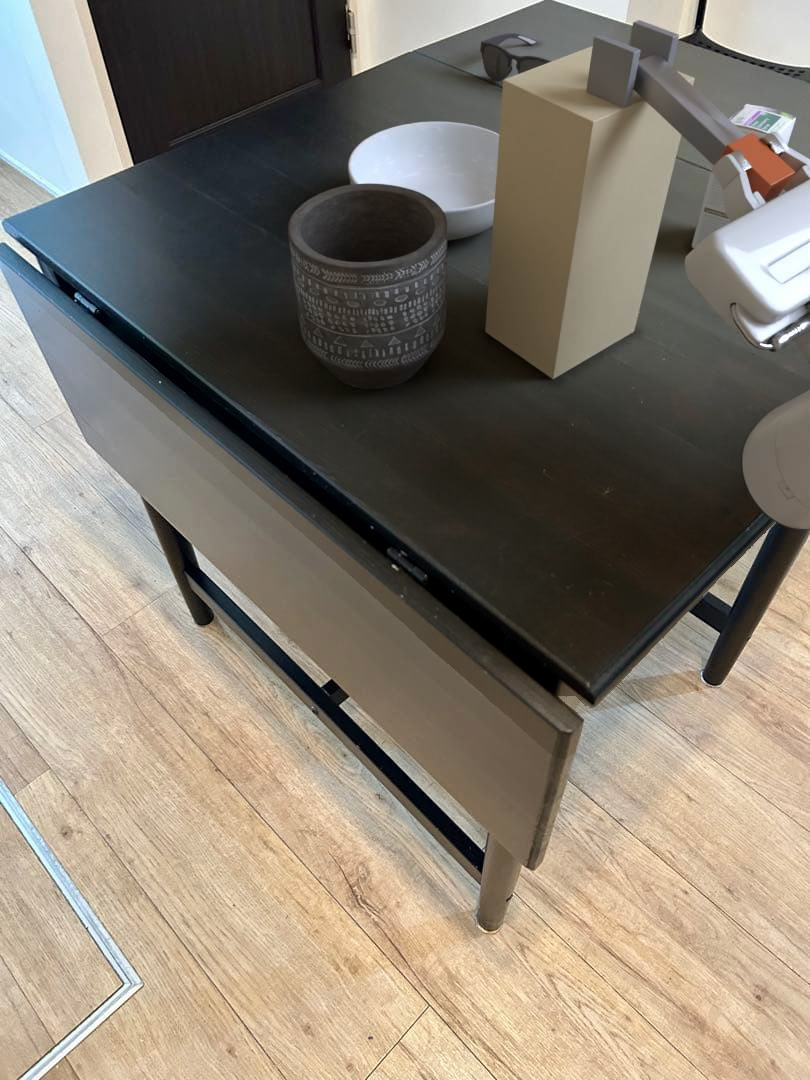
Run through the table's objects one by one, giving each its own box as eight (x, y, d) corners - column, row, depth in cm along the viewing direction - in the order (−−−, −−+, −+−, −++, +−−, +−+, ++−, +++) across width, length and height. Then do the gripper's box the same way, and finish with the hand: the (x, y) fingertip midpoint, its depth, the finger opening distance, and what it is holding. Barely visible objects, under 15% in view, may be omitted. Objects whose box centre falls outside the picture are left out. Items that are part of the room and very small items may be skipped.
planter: (368, 300, 91) (360, 167, 80) (472, 350, 85) (480, 214, 74) (276, 365, 84) (253, 230, 73) (383, 425, 79) (376, 288, 67)
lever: (777, 197, 62) (796, 171, 60) (752, 211, 61) (770, 185, 59) (647, 76, 66) (661, 48, 64) (622, 87, 65) (634, 58, 63)
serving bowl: (345, 264, 96) (340, 208, 90) (357, 174, 109) (354, 120, 104) (526, 265, 95) (533, 208, 90) (516, 174, 108) (521, 120, 103)
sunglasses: (465, 74, 128) (469, 38, 124) (526, 53, 137) (531, 18, 134) (555, 103, 121) (562, 65, 117) (613, 79, 130) (621, 43, 127)
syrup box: (736, 264, 94) (779, 136, 83) (688, 248, 97) (723, 120, 85) (756, 242, 97) (800, 115, 86) (709, 226, 100) (745, 100, 88)
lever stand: (634, 331, 87) (708, 23, 65) (553, 379, 82) (602, 65, 60) (565, 289, 92) (611, -12, 70) (485, 331, 87) (506, 25, 65)
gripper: (732, 381, 59) (623, 223, 60) (891, 275, 67) (793, 136, 68) (797, 340, 53) (676, 165, 54) (962, 229, 61) (855, 78, 62)
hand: (742, 148), depth 61 cm, fingers closed on lever, 3 cm apart
